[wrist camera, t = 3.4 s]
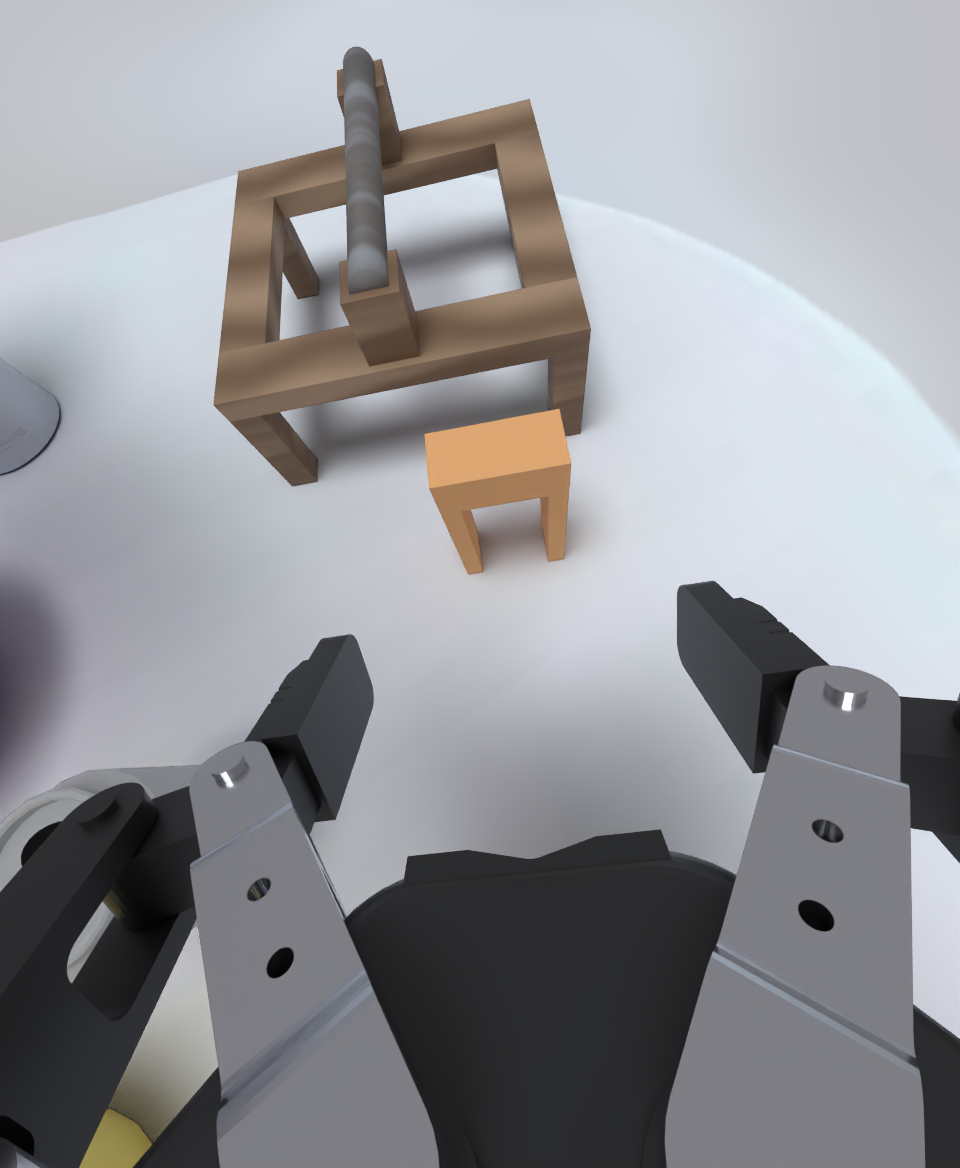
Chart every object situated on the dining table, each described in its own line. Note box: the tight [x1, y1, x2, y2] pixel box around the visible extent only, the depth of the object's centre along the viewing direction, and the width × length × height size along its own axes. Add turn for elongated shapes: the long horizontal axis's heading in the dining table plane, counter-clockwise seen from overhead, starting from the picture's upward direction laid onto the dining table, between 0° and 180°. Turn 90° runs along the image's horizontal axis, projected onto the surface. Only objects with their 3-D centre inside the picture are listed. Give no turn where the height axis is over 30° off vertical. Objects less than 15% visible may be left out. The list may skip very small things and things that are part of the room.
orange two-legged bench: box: [424, 409, 571, 574], centre depth 26 cm, size 3×6×11 cm, turn 97°
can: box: [0, 765, 202, 984], centre depth 22 cm, size 8×8×12 cm
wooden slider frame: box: [214, 47, 591, 486], centre depth 32 cm, size 22×22×14 cm
